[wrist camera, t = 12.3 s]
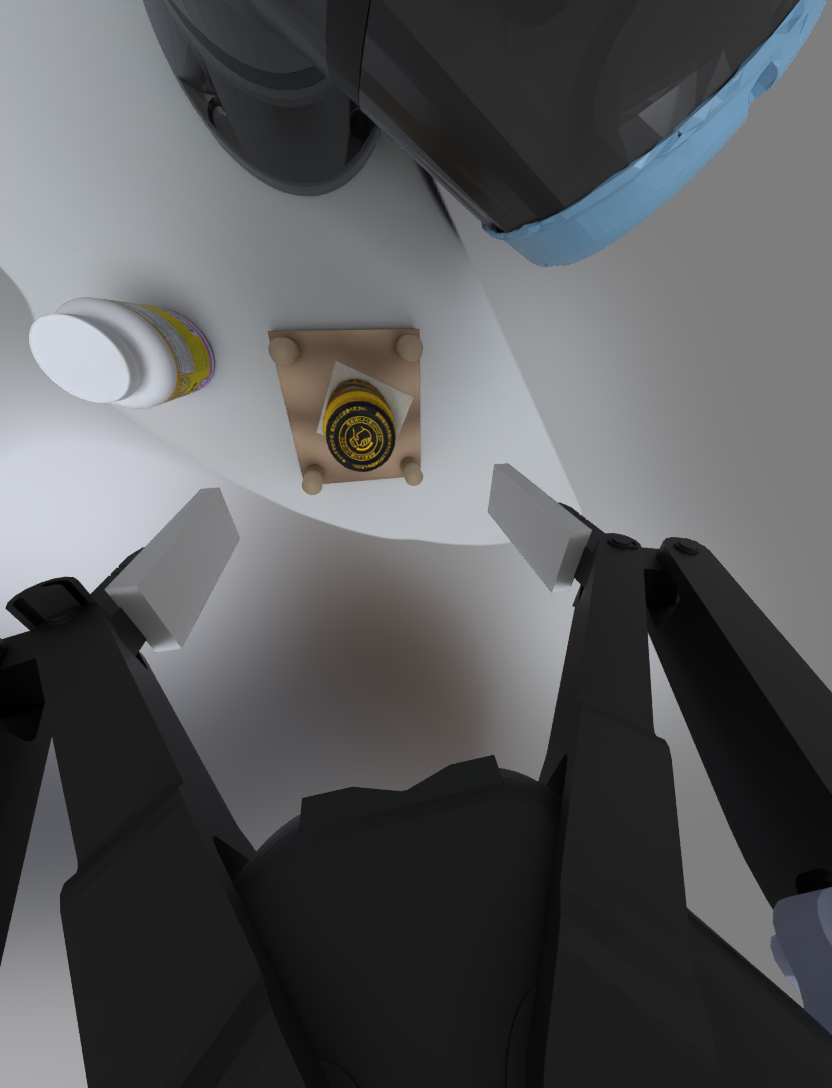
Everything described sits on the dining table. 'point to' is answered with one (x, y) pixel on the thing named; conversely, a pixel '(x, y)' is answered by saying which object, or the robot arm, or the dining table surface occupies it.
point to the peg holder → (306, 385)
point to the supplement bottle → (121, 352)
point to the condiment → (361, 419)
